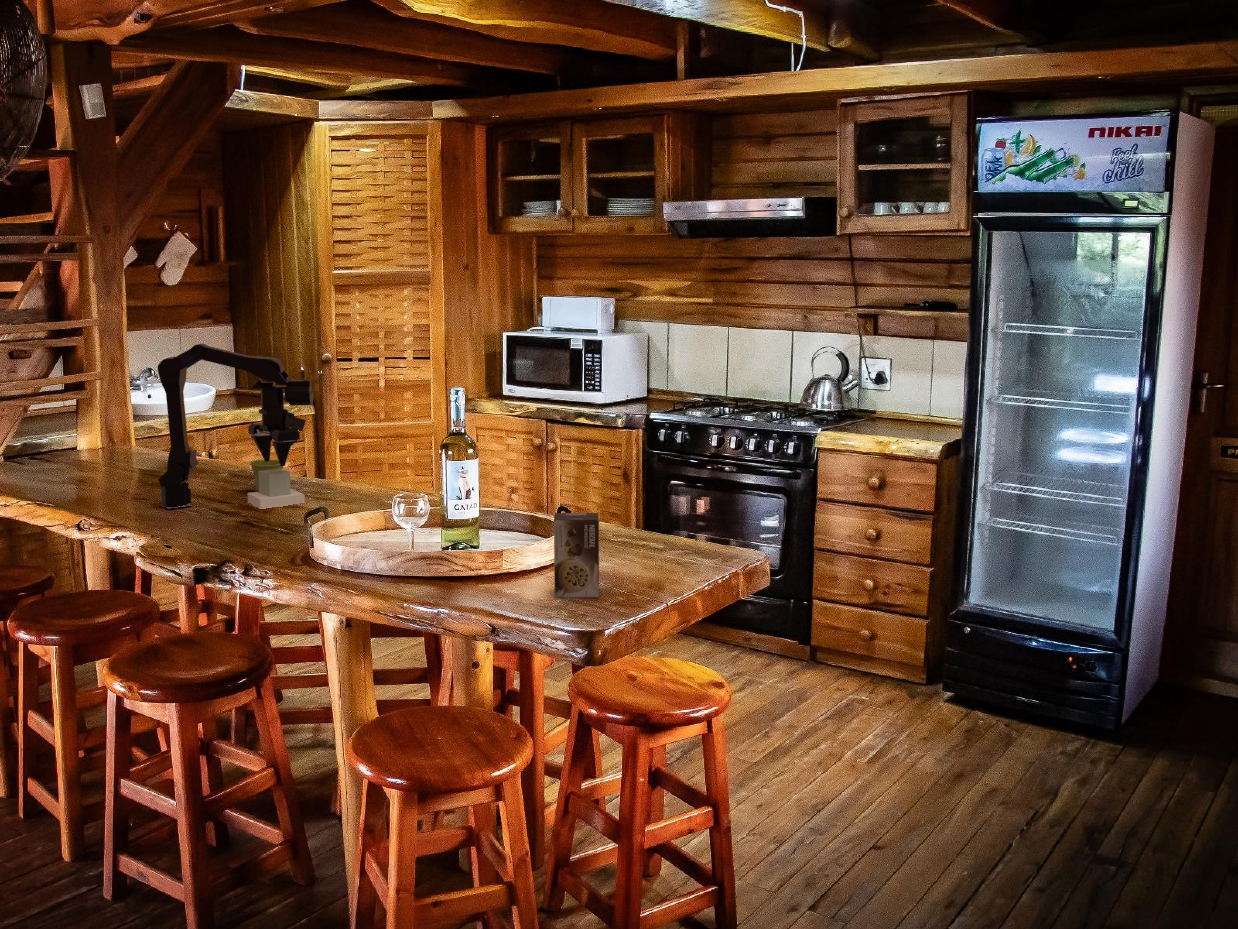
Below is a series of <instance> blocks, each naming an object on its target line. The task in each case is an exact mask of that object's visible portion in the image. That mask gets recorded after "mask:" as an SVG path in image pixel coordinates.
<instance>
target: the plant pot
mask: <svg viewBox="0 0 1238 929" xmlns="http://www.w3.org/2000/svg"><path fill="white" fill-rule="evenodd" d="M249 465H250V466H251V470H252V472H253V478H254V483H255V484H254V485H255V490H256V489H257V490H259V475H258V471H264V470H273V469H282V470H283V467H284V466H280V463H279V461H278V459H270V460H269V462H265V460H264V459H258V460H252V461H250V462H249Z"/></svg>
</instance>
